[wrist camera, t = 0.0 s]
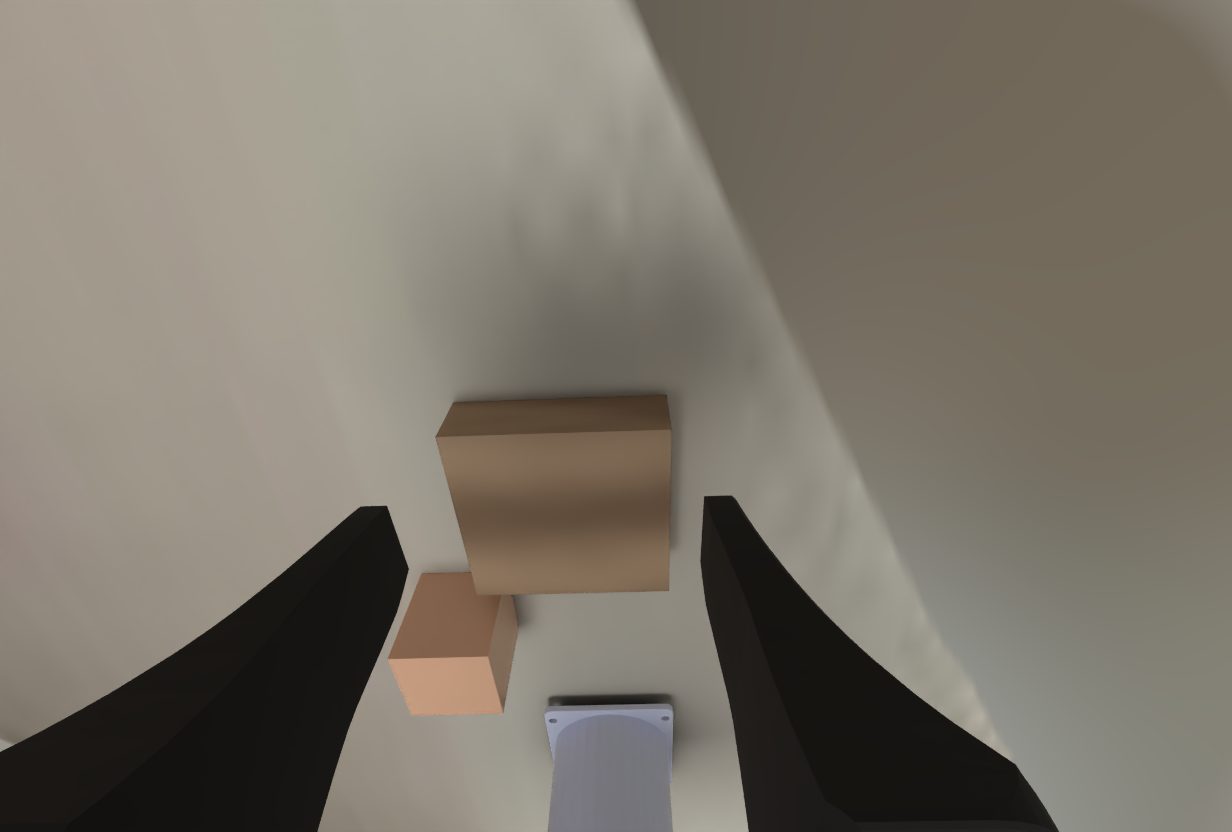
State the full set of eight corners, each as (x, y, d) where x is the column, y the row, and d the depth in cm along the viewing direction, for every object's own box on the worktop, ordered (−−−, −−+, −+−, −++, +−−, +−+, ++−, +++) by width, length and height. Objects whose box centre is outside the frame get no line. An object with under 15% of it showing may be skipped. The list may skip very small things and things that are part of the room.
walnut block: (664, 543, 28) (668, 590, 25) (490, 548, 28) (477, 595, 25) (665, 390, 23) (671, 429, 20) (455, 397, 23) (435, 437, 21)
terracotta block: (518, 625, 31) (503, 713, 26) (440, 628, 31) (411, 715, 26) (506, 570, 28) (487, 656, 24) (421, 572, 28) (387, 659, 24)
